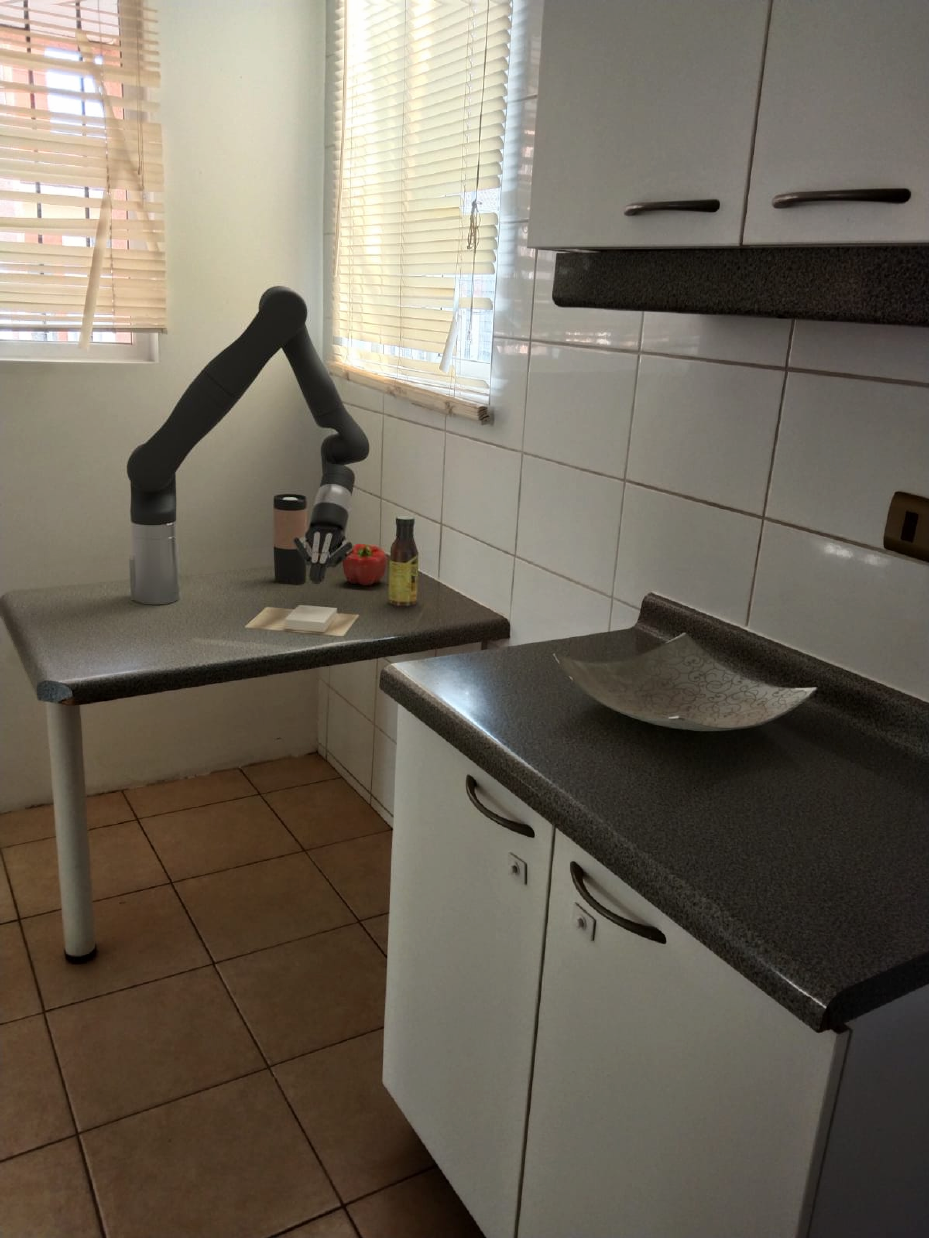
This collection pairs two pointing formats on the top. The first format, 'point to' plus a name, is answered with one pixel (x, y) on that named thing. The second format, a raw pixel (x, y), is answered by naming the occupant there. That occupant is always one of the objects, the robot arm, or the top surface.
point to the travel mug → (289, 538)
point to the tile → (311, 618)
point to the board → (276, 621)
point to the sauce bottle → (403, 564)
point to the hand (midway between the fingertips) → (315, 582)
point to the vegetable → (365, 564)
